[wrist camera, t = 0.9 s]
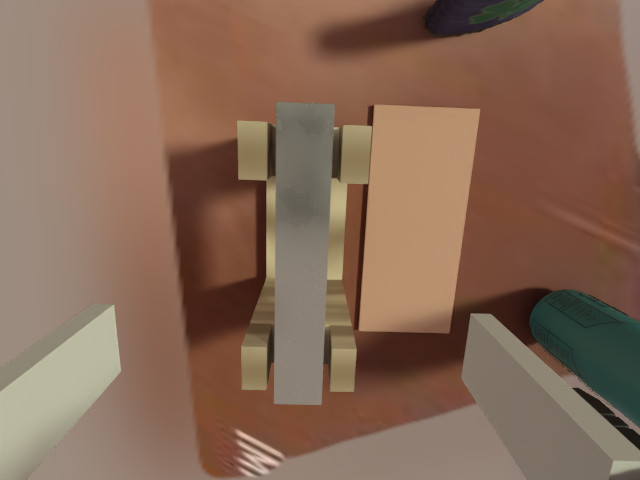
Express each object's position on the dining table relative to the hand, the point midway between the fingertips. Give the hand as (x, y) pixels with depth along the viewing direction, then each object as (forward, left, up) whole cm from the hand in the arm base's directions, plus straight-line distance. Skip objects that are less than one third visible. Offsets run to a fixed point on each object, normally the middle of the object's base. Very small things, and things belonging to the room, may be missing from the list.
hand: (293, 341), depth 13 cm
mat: (0, +10, -21) cm, 23 cm away
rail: (0, 0, -11) cm, 11 cm away
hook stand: (0, 0, -21) cm, 21 cm away
